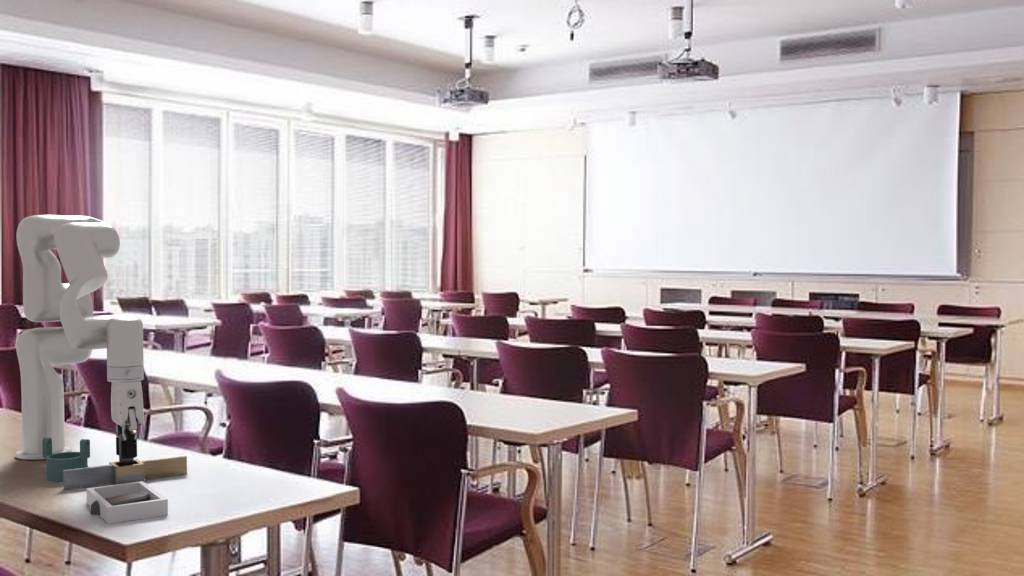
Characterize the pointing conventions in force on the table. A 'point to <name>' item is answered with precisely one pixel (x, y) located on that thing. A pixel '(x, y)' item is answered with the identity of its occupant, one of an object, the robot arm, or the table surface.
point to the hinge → (124, 472)
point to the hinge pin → (121, 461)
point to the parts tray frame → (127, 511)
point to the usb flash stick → (121, 500)
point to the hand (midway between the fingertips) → (126, 455)
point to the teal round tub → (64, 459)
